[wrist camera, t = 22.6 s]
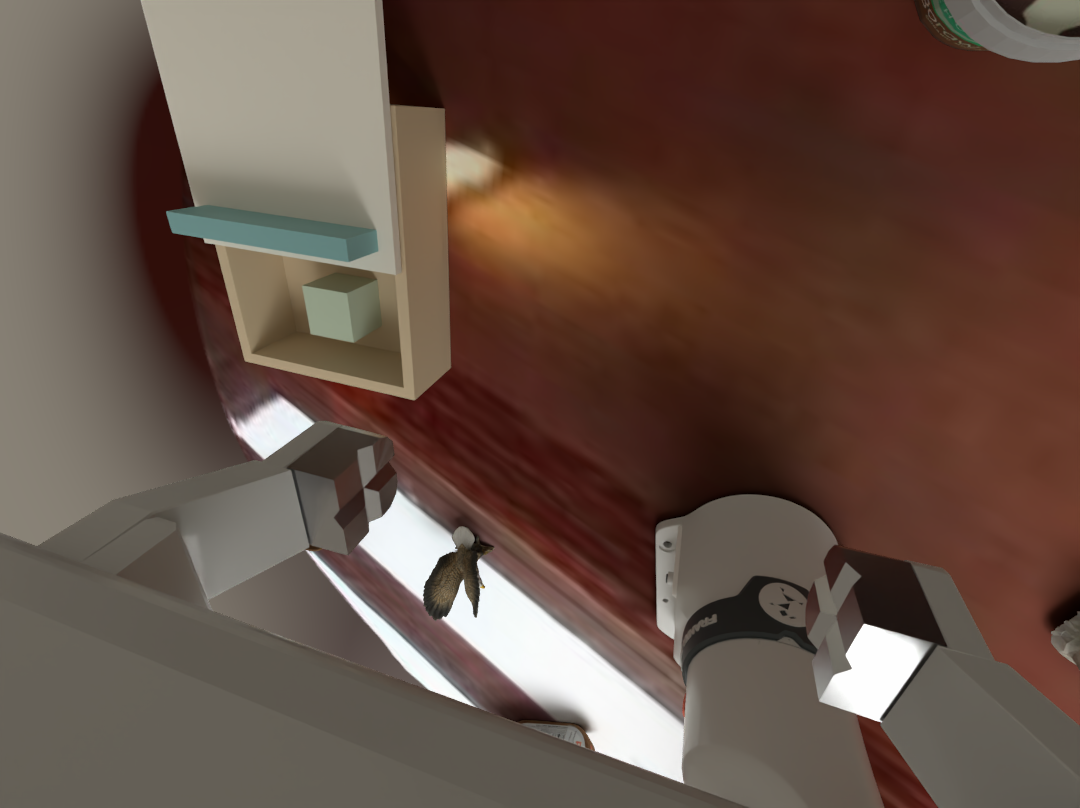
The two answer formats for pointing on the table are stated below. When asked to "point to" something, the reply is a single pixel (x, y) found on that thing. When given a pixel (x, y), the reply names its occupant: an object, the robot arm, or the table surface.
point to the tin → (561, 731)
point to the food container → (1007, 27)
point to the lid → (282, 126)
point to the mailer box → (405, 299)
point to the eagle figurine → (455, 575)
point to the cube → (342, 306)
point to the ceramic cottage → (1068, 639)
